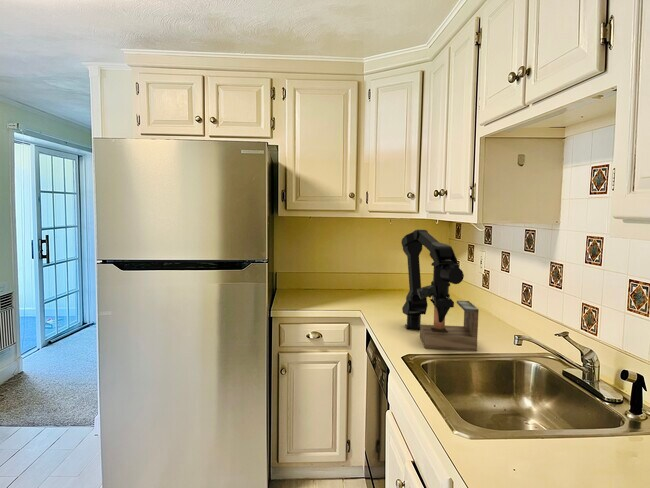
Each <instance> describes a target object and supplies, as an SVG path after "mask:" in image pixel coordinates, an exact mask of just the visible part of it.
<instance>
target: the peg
mask: <svg viewBox="0 0 650 488" xmlns="http://www.w3.org/2000/svg"><path fill="white" fill-rule="evenodd" d="M433 307H434V308H433V325H434V328H436V329H444V328H445V324H446V317H445V318H444V320H443V322H442V323H440V322H439V319H438V312H437V308H436V307H435V306H434V305H433Z"/></svg>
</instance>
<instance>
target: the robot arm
mask: <svg viewBox="0 0 650 488" xmlns="http://www.w3.org/2000/svg"><path fill="white" fill-rule="evenodd" d="M401 246H402V251H403V252H404V254H405V255H406V257H407V258H406V259H407V268H408V269H407V270H408V272H407V273H408V283H409V285H408V286H409V287H408V288H409V291H408V293H407V295H405V296H406V297H405V303H404V304H403V306H402V308H401V310H402V313H403V314H404V315H406V324H405V323H404V324H405V325H404V326H405V329H406V330H408V331H409V330H410V331H411V330H412V331H413V330H414V331H420V324H421V323H422V321H421V320H422V315H426V314H427V309H428V298H430V299H429V301H430V302H431V303H432V304H433V307H434V306H435V307H436V308H437V312H438V319H439V322H440V323H442V322H443V320H444V318H445V319H446V316H447V314H448V312H449V310H450V309H451V308H452V309H453V308H454V307H455V302H454V300H453V299H452V298H451V297H450V296H451V295H450V293H449V291H450V287H451V284H453V285H459V284H460V283H462V281H463V280H464V277H465V275H464V272H463V270H462V269H461V268H460V265H459V264H458V263H459V262H458V259H457V257H456V254H455V251H454V249H453V247H452V246H450V245H449V244H447V243H443V242H439V241H438V240H437V239H436V238H435V237H434V236H433V235H431V234H430V233H429V232H428V230H426V229H415V230H413V231H412V232H410V233H408V234H406V235H404V236H403V238H402V239H401ZM423 247H425V249H427V250H428V251H429V256H430V258H431V260H433V262H432V263H431V266H433V270H432V271H433V274H432V276H433V277H432V280H431V281H430V285H426V286H422V281H421V280H422V279H421V267H420V265H421V264H420V254H421V252H422V251H423Z"/></svg>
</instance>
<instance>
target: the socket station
mask: <svg viewBox="0 0 650 488" xmlns="http://www.w3.org/2000/svg"><path fill="white" fill-rule="evenodd" d="M456 304H457V305H458V306H459V307H460V308H461V309H462V310H463V325H445V328H444V329H436V328H434V324H423V323H422V324H420V330H419V338H420V340H421V342H422V345H423V347H424V349H425V350H426V349H427V350H443V351H446V350H448V351H450V350H451V351H466V352H467V351H468V352H477V351H478V333H479V332H478V331H479V329H478V328H479V308H478V307H477V306H475V304H473V303H472V302H471V301H469V300H456Z"/></svg>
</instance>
